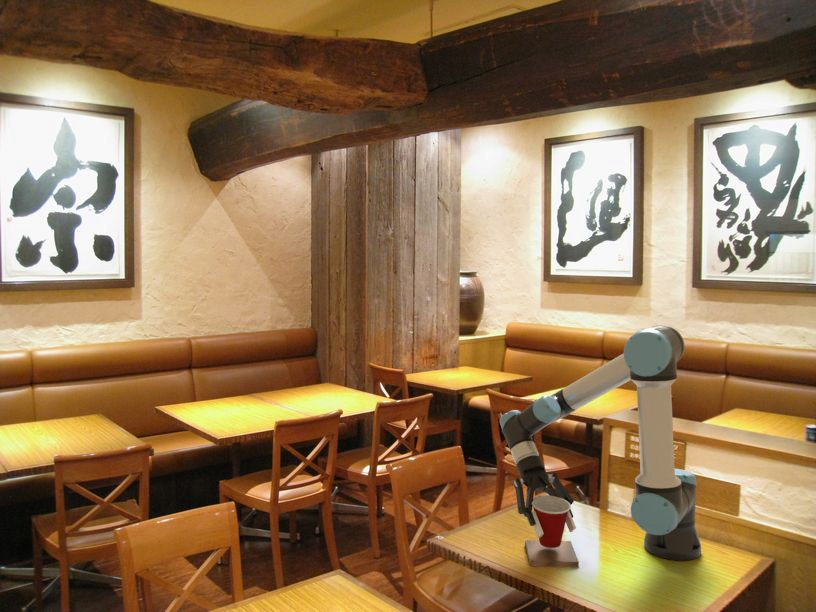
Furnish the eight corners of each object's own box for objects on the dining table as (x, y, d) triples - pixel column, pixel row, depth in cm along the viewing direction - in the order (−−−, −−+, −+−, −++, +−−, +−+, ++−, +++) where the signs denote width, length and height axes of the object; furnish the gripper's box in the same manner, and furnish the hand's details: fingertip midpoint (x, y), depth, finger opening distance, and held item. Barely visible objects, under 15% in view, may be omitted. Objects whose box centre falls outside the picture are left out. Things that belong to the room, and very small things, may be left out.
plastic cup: (545, 555, 181) (546, 512, 180) (523, 539, 191) (523, 498, 190) (578, 548, 186) (579, 506, 185) (555, 533, 196) (555, 493, 195)
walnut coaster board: (570, 546, 195) (570, 541, 195) (578, 567, 182) (578, 561, 182) (525, 545, 196) (525, 540, 196) (530, 566, 183) (530, 560, 183)
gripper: (554, 461, 205) (585, 532, 192) (489, 471, 197) (516, 545, 184) (565, 449, 200) (597, 521, 187) (498, 458, 192) (526, 533, 179)
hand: (557, 533), depth 185 cm, fingers closed on plastic cup, 10 cm apart
